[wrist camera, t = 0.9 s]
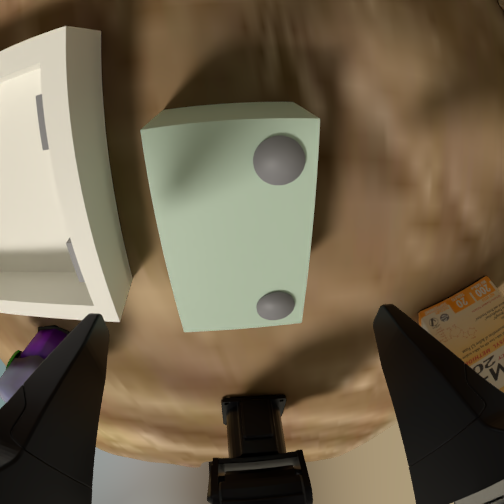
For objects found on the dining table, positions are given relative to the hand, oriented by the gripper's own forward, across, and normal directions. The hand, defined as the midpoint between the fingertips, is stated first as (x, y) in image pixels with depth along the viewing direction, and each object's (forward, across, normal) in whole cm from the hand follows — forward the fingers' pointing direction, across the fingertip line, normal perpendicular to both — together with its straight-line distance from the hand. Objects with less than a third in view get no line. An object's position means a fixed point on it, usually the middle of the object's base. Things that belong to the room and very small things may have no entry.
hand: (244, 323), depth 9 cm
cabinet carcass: (+8, +13, -2) cm, 15 cm away
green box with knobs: (+8, 0, 0) cm, 8 cm away
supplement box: (+8, -20, +10) cm, 24 cm away
